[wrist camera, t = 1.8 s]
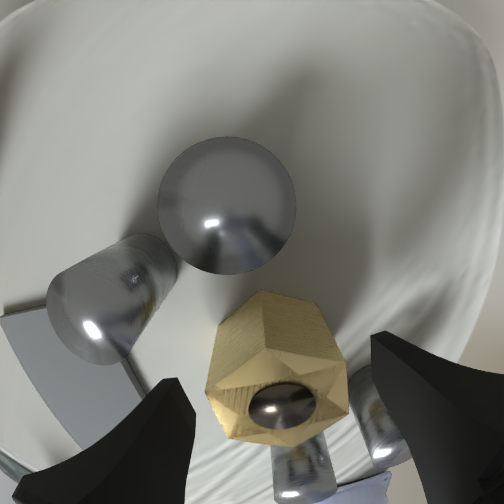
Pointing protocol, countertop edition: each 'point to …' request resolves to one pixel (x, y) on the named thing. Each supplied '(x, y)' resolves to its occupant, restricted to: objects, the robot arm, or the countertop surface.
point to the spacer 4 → (376, 422)
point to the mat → (71, 378)
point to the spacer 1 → (111, 298)
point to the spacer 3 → (303, 472)
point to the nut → (276, 372)
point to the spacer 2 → (226, 205)
